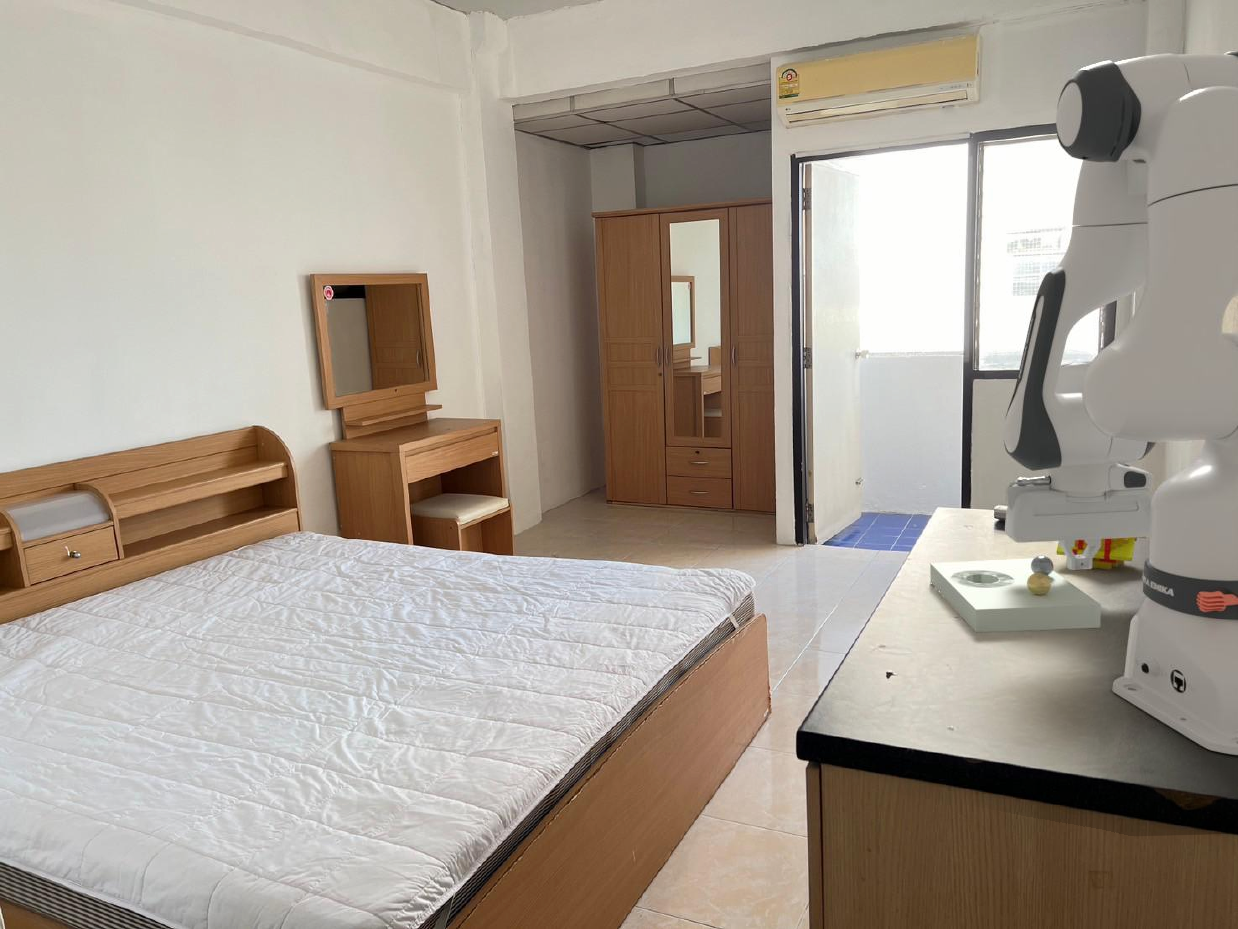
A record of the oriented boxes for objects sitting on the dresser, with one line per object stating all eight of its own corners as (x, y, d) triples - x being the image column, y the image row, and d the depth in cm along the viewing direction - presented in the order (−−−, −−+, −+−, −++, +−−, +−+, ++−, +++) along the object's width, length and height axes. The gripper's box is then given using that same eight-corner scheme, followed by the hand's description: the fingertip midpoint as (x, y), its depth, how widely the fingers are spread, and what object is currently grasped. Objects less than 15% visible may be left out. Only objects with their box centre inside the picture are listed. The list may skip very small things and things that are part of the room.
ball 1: (1056, 578, 130) (1057, 558, 130) (1035, 579, 130) (1035, 559, 130) (1048, 572, 133) (1048, 552, 133) (1027, 573, 133) (1027, 553, 133)
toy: (1150, 546, 147) (1148, 476, 139) (1143, 589, 141) (1141, 519, 133) (1059, 538, 155) (1052, 471, 147) (1049, 579, 149) (1041, 512, 141)
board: (1100, 627, 119) (1100, 604, 119) (975, 632, 121) (976, 609, 120) (1035, 578, 141) (1035, 558, 140) (930, 582, 142) (930, 563, 142)
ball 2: (1054, 597, 123) (1054, 576, 122) (1031, 598, 123) (1031, 577, 122) (1045, 590, 126) (1045, 569, 125) (1023, 591, 126) (1023, 570, 125)
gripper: (1014, 483, 127) (1013, 578, 129) (1166, 475, 125) (1162, 571, 127) (998, 474, 133) (998, 565, 135) (1143, 467, 131) (1140, 559, 134)
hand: (1079, 568), depth 131 cm, fingers closed
